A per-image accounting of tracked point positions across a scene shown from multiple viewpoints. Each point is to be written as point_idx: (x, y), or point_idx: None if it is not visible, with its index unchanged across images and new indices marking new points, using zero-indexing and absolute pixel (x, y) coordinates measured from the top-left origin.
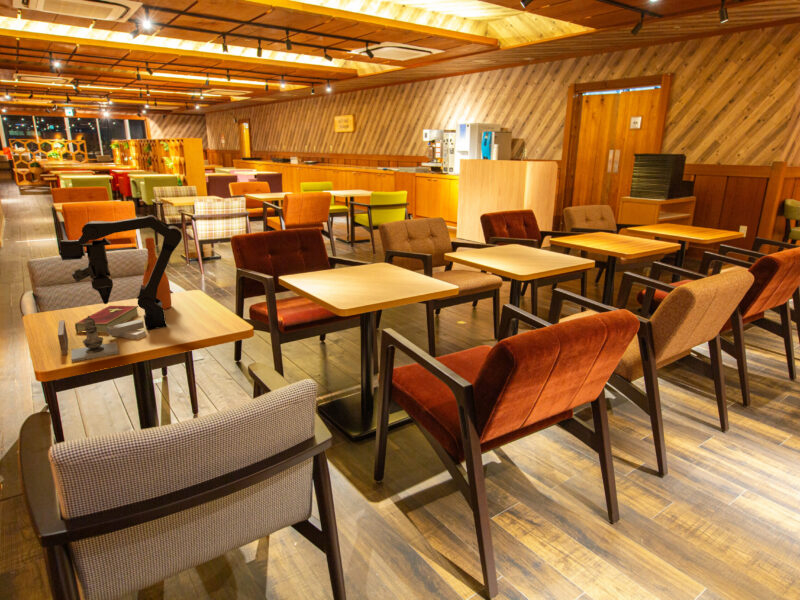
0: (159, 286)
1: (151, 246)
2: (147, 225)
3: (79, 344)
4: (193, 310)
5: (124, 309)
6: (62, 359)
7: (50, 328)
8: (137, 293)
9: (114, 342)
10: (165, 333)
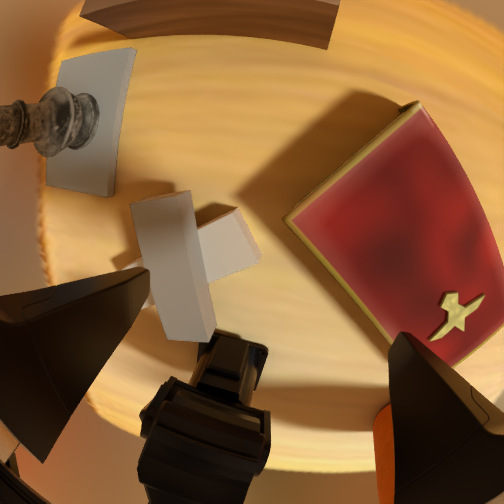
0: (382, 486)
1: None
2: None
3: (207, 72)
4: (300, 447)
5: (433, 347)
6: (103, 32)
7: (498, 73)
8: (250, 464)
9: (105, 190)
10: (140, 342)
